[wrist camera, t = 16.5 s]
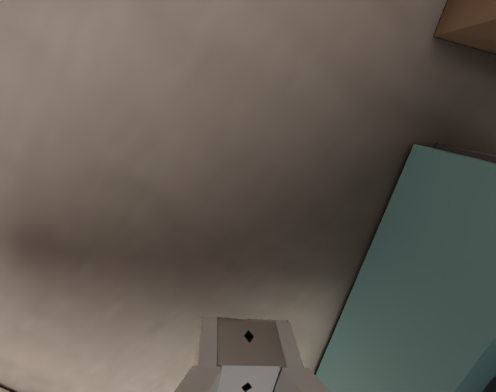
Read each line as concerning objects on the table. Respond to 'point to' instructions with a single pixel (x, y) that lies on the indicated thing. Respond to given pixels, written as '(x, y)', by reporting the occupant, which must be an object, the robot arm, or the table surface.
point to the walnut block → (469, 23)
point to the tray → (424, 286)
